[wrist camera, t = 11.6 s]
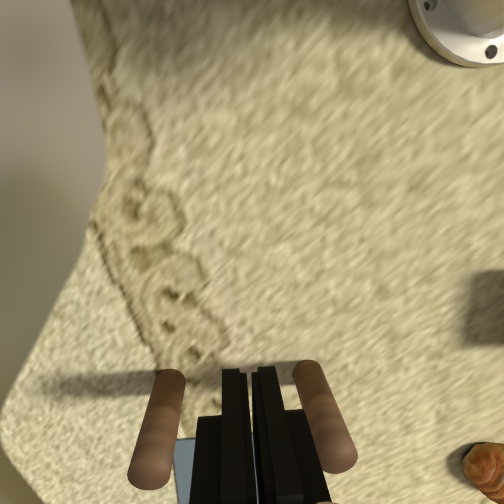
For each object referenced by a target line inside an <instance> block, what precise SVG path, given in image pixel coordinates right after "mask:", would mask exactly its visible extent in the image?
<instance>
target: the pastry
mask: <svg viewBox="0 0 504 504" xmlns="http://www.w3.org/2000/svg"><path fill="white" fill-rule="evenodd" d="M462 465H463V470H464V474H465V476H466V477H467V478H468V479H469V480H470V481H471V482H472V484H473V485H474V486H475V487H476V488H478V489H479V490H480V491H481V492H482V493H483V494H484V495H485V496H487V497H488V498H489V499H490V500H492V501H494V502H496V503H498V504H504V444H497V443H485V444H476V445H475V446H474V447H473V448H472V449H471V451H470V452H469V453H468V454H467V455H466V456H465V457H464V459H463V462H462Z"/></svg>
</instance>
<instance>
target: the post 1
mask: <svg viewBox="0 0 504 504" xmlns="http://www.w3.org/2000/svg"><path fill="white" fill-rule="evenodd" d="M185 384H186V379H185V377H184V375H183V374H182V373H181V372H179V371H177V370H174V369H167V370H163V371H161V372H160V373H159V374H158V375H157V376H156V379H155V382H154V385H153V389H152V392H151V396H150V399H149V402H148V406H147V409H146V412H145V416H144V419H143V422H142V426H141V429H140V432H139V436H138V439H137V442H136V446H135V449H134V452H133V456H132V459H131V463H130V466H129V469H128V473H127V477H128V480H129V482H130V483H131V484H132V485H133V486H135V487H136V488H139V489H142V490H156V489H159V488H161V487H163V486H164V485H166V484H167V482H168V481H169V479H170V474H171V468H172V462H173V456H174V450H175V444H176V438H177V432H178V426H179V420H180V414H181V408H182V402H183V396H184V390H185Z"/></svg>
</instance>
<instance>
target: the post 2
mask: <svg viewBox="0 0 504 504" xmlns="http://www.w3.org/2000/svg"><path fill="white" fill-rule="evenodd" d="M293 377H294V381H295V384H296V388H297V391H298V395H299V398H300V402H301V405H302V409H304V411H305V414H306V416H307V420H308V423H309V427H310V430H311V433H312V437H313V440H314V443H315V447H316V450H317V454H318V457H319V460H320V464H321V467H322V470H323V471H325V472H327V473H331V474H338V473H343V472H345V471H347V470H349V469H350V468H352V467H353V466H354V465H355V463H356V461H357V459H358V453H357V451H356V448H355V446H354V444H353V441H352V439H351V436H350V434H349V432H348V429H347V427H346V425H345V422H344V420H343V418H342V415H341V413H340V411H339V408H338V406H337V404H336V401H335V399H334V397H333V394H332V392H331V390H330V387H329V385H328V382H327V380H326V378H325V375H324V373H323V371H322V368H321V366H320V365H319V364H318V363H317V362H315V361H312V360H305V361H302V362H300V363H299V364H297V365H296V366H295V368H294V370H293Z"/></svg>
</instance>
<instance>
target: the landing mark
mask: <svg viewBox="0 0 504 504" xmlns="http://www.w3.org/2000/svg"><path fill="white" fill-rule="evenodd" d="M195 439H196V438H188V439H176V444H175V450H174V456H173V457H174V464H175V472H176V480H177V488H178V496H179V503H180V504H189V498H190V488H191V478H192V468H193V459H194V449H195ZM252 443H253V433H252ZM253 454H254V447H253ZM254 465H255V458H254ZM255 476H256V469H255ZM256 488H257V480H256ZM257 504H259V502H258V491H257Z"/></svg>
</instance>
